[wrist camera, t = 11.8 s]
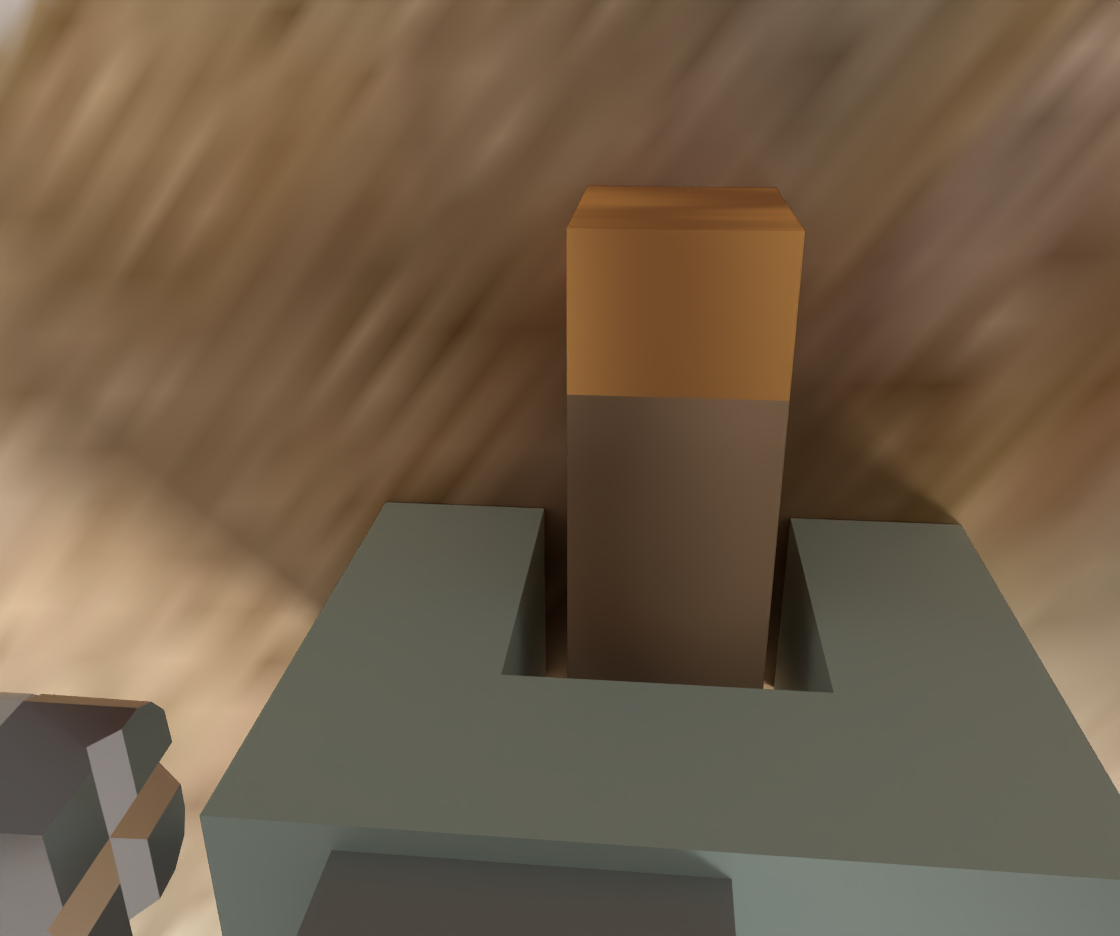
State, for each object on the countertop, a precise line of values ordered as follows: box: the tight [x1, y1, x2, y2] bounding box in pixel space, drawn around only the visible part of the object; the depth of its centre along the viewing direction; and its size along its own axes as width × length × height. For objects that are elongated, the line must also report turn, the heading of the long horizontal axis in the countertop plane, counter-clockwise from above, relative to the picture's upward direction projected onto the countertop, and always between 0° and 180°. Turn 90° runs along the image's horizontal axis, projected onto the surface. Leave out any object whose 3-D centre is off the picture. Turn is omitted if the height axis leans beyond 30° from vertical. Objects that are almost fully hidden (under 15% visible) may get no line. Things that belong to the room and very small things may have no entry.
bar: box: [566, 186, 805, 689], centre depth 23 cm, size 4×20×5 cm, turn 1°
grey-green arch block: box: [200, 502, 1120, 936], centre depth 19 cm, size 14×5×14 cm, turn 91°
